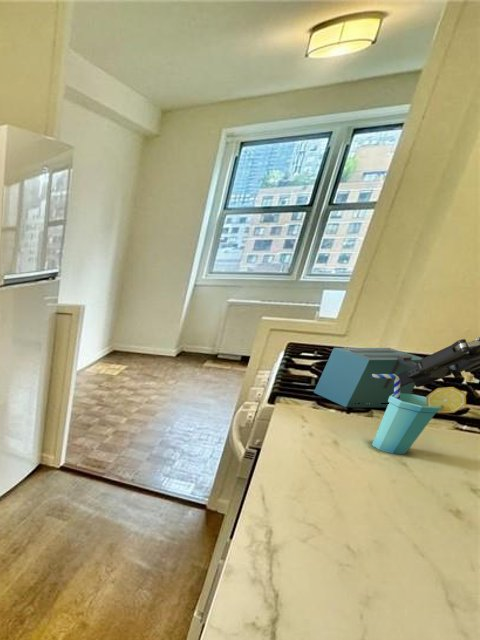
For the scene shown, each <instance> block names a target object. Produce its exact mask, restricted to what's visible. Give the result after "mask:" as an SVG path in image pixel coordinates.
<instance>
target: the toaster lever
mask: <svg viewBox="0 0 480 640" xmlns="http://www.w3.org/2000/svg"><path fill="white" fill-rule="evenodd" d="M397 363H400V364H404V365H407V366H410V367H413V368H414V367H416V366H417V364H416V363H414V362H410V361H407V360H401V359H399V360H398V362H397ZM448 371H449V368H443V369H440V370H437V371H434V372H431V375H429V376H426V377H428V378H441V379H444V378H446V377H447V376H446V375H447V373H448ZM445 376H446V377H445Z"/></svg>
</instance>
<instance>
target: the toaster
mask: <svg viewBox="0 0 480 640" xmlns="http://www.w3.org/2000/svg"><path fill="white" fill-rule="evenodd" d="M423 358H424V357H421V356H418V355H415V354H411V353H408V352H404V351H402V350H397V349H394V348H391V347H333V349H332V351H331V354H330V355H329V357H328V360H327V362H326V364H325V366H324V368H323V371H322V373H321V375H320V378H319V379H318V382H317V384H316V386H315V388H314V391H313V394H316V395H318V396H320V397H322V398H324V399H326V400H329V401H330V402H333V403H335V404H338V405H340V406H342V407H344V408H387V406H388V404H381V403H389V402H388V399H389V397H390V396H391V395H392V394H394V380H393V379H392V378H371V375H372V374H395V375H398V374H400V373H402V372H405V371H407V370H409V369H412V368H413V367H410V366H407V365H404V364H400V363H397V362H398V360H399V359H401V360H407V361H410V362H414V363H416V361H418V360H420V359H423ZM415 388H416V386H415V383H414V382H412V383H409V384H407V385H404V386H402V387H400V393H404V394H412V392H413V390H414V389H415ZM355 403H356V404H355ZM358 403H360V404H358ZM362 403H363V404H362ZM366 403H368V404H366ZM369 403H370V404H369Z"/></svg>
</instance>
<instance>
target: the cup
mask: <svg viewBox="0 0 480 640" xmlns="http://www.w3.org/2000/svg"><path fill="white" fill-rule="evenodd" d="M371 378H392V379H393V380H394V394H392V395H391V396H390V397H389V399H388V402H389V404H388V406H387V407H386V409H385V411H384V414H383V417H382V419H381V421H380V424H379V426H378V429H377V432H376V434H375V435H374V439H373V441H372V444H371V445H372V446H373V447H374V448H375V449H377V450H379V451H382V452H386V453H388V454H392V455H406V454H407V452H408V451H409V450H410V448H411V447H412V446H413V444H414V443H415V442H416V440H417V439H418V437H419V436H420V435H421V434H422V433H423V431H424V429H425V428H426V427H427V426H428V425H429V422H430V421H431V420H432V419H433V417H434V416H435V415H436V414H454V413H456V412H458V411H459V410H460V409H462V408H464V407H465V406H466V405H467V394H466V392H463V390H460V389H459V388H456V387H454V386H447V387H437V388H436V389H434V390H433V391H431V392H430V393H429V394H427V395H426V396H423V395H419V394H413V393H411V394H404V393H400V378H399V377H398V376H397V375H395V374H372V375H371Z"/></svg>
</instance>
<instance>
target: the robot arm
mask: <svg viewBox="0 0 480 640" xmlns="http://www.w3.org/2000/svg"><path fill="white" fill-rule="evenodd" d="M422 358H423V359H420V360H418V361H416V364H417V366H416V367H414V368H412V369H409V370H407V371H405V372H402V373H400V374H398V375H397V376H398V377H399V378H400V387H402V386H404V385H407V384H409V383H412V382H414V383H415V388H421V387H423V386H426V385H429V384H432V383H433V382H436V381H438V380H441V379H442V378H428V377H426V376H429V375H431V372H434V371H437V370H440V369H443V368H449V371H448V373H447V375H446V376H445V378H447V377H449V376H451V375H453V376H454V378H457V377H461V376H463V374H462V372H464V373H471V372H473V371H476V370H479V369H480V336H479V337H478V338H476V339H474V340H472V341H469V342H467V340H466V338H462V339H459V340H455V342H453V343H452V344H450V345H448V346H447V347H444V348H443V349H442V348H441V349H440V350H438V351H436V352H433V353H432V354H429V355H427V356H426V357H422Z"/></svg>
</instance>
